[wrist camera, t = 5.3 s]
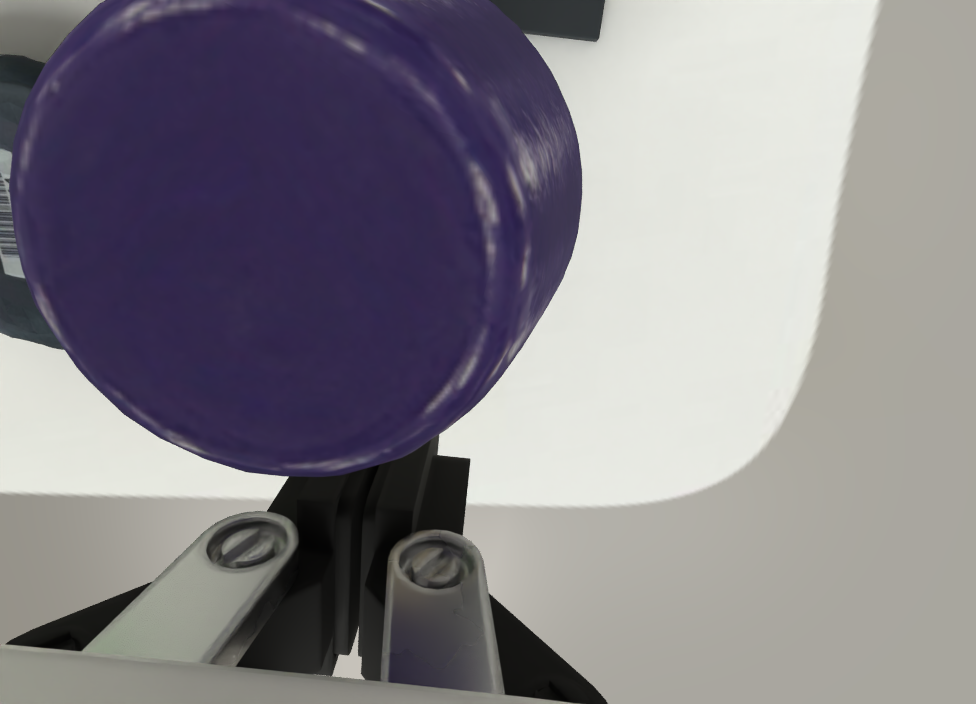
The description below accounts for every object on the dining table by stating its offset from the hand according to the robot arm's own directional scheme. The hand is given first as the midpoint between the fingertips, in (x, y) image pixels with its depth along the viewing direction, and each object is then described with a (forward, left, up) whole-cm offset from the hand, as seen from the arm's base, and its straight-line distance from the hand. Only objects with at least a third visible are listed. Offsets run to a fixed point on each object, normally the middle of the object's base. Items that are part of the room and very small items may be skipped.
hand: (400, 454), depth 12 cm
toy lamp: (-6, 0, -10) cm, 11 cm away
